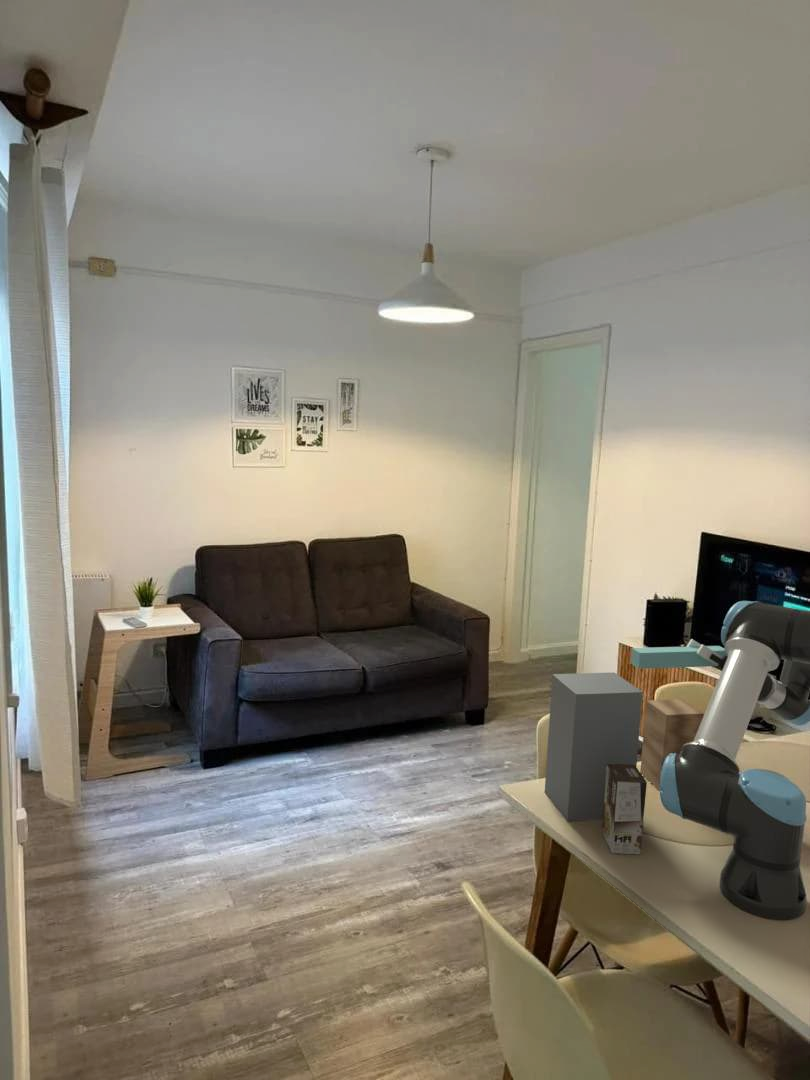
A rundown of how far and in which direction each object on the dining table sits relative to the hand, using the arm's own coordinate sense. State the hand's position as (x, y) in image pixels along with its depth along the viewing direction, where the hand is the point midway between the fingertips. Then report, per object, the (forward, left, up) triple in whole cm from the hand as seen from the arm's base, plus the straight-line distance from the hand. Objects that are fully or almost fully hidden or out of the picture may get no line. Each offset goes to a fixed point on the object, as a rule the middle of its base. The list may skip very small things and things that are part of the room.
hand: (694, 646), depth 191 cm
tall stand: (-14, +28, -36) cm, 47 cm away
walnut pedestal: (-1, +4, -36) cm, 36 cm away
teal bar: (-1, +4, -5) cm, 6 cm away
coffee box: (-31, +25, -36) cm, 54 cm away
